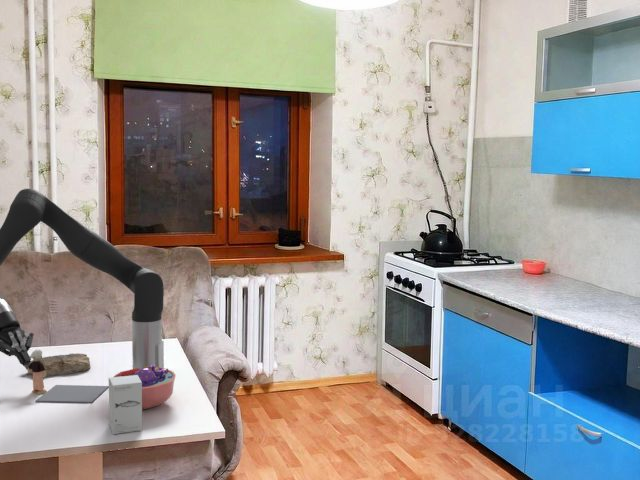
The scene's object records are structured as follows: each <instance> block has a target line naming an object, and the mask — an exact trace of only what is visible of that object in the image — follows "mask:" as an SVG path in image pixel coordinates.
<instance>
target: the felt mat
mask: <svg viewBox="0 0 640 480" xmlns="http://www.w3.org/2000/svg"><path fill="white" fill-rule="evenodd" d="M107 390H109V385H81V384H80V385H79V384H78V385H77V384H74V385H73V384H70V385H69V384H56V385H53V387H52V388H50V389H48V390H46V391H47V392H46V393H44V394H41V396H39V397H38V398H37V399H36V400H35V403H62V404H64V403H69V404H70V403H73V404H93V403H94V402H95V401H96V400H97V399H98V398H100V396H102V395H103V394H104V393H105V392H106V391H107Z"/></svg>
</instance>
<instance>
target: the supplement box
mask: <svg viewBox="0 0 640 480" xmlns="http://www.w3.org/2000/svg"><path fill="white" fill-rule="evenodd" d="M108 386H109V388H108V420H109V421H108V425H109V428H110V431H111V433H112V435H117V434H125V433H130V432H131V433H132V432H140V431H143V409H142V382H141V380H140V378H139V376H138V375H132V376H121V377H108Z"/></svg>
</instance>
